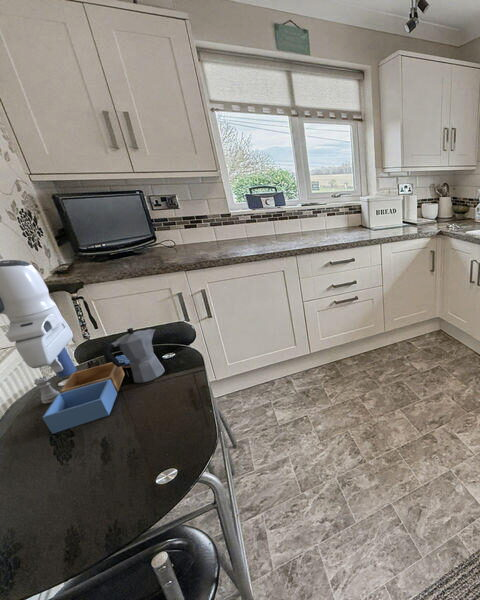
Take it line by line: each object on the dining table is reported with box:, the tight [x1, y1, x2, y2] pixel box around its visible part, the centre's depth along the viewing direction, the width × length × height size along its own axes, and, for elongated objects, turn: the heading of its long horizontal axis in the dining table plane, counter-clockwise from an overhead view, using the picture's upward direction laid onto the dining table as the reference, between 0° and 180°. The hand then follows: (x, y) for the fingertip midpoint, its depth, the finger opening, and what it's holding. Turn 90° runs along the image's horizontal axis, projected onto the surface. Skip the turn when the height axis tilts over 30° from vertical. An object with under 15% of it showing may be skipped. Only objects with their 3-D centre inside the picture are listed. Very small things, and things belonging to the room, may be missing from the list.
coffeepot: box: [102, 327, 166, 384], centre depth 108 cm, size 15×9×18 cm, turn 153°
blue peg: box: [54, 348, 78, 378], centre depth 89 cm, size 4×4×7 cm
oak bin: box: [59, 361, 126, 394], centre depth 106 cm, size 12×12×6 cm
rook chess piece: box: [33, 375, 60, 405], centre depth 102 cm, size 4×4×8 cm
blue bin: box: [42, 379, 118, 435], centre depth 95 cm, size 12×12×6 cm
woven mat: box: [114, 354, 131, 369], centre depth 122 cm, size 10×11×2 cm
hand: (63, 366), depth 90 cm, fingers closed on blue peg, 4 cm apart
